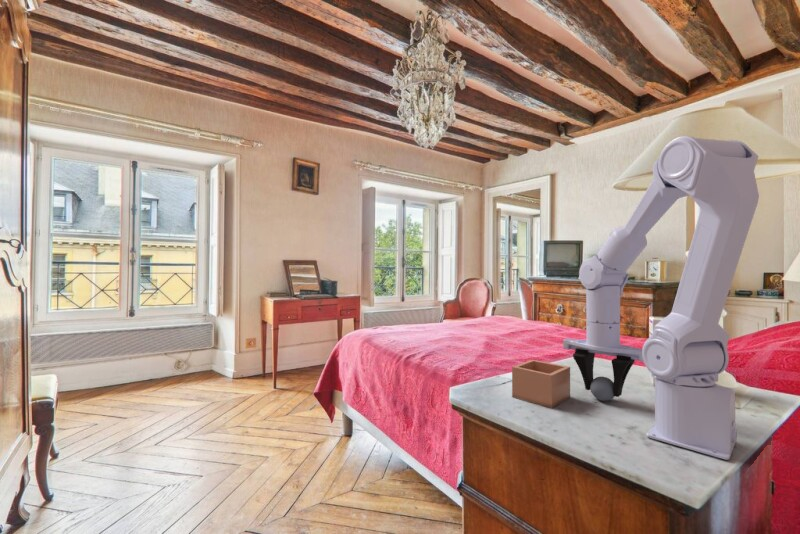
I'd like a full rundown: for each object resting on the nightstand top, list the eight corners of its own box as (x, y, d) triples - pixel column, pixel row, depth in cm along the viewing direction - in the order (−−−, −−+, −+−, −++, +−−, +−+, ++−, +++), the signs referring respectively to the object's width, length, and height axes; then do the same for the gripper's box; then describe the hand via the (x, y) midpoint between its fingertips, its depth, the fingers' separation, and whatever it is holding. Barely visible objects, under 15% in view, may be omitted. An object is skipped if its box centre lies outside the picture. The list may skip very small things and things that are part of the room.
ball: (620, 400, 72) (619, 377, 72) (611, 406, 69) (611, 382, 69) (595, 394, 75) (595, 372, 75) (586, 400, 72) (586, 376, 72)
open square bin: (570, 397, 73) (570, 367, 73) (551, 408, 68) (551, 375, 68) (532, 387, 79) (532, 359, 79) (512, 397, 74) (512, 366, 74)
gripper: (653, 323, 69) (653, 396, 69) (573, 315, 80) (573, 379, 80) (641, 328, 64) (641, 406, 64) (558, 319, 75) (558, 386, 75)
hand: (603, 391), depth 72 cm, fingers closed on ball, 4 cm apart
